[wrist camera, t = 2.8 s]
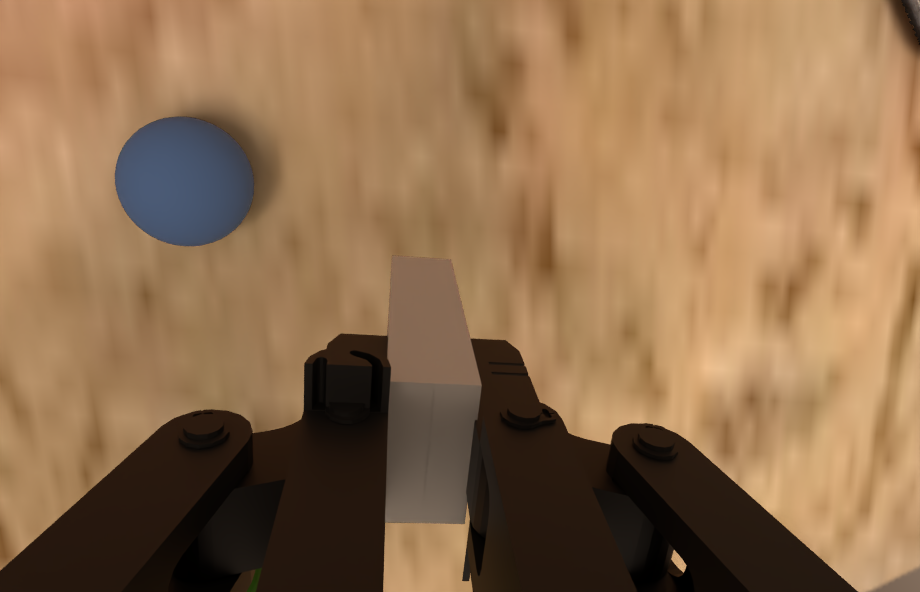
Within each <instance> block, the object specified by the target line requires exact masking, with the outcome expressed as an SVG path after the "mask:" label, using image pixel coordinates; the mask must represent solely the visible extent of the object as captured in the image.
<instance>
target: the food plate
mask: <svg viewBox="0 0 920 592" xmlns="http://www.w3.org/2000/svg"><path fill="white" fill-rule="evenodd" d="M901 1H902V3H903V4H902V5H903V6H904V7H905V10H906V11H905V12H907V13H908V15H907V16H908V18H910V20H911V21H909V23H910V24H911V25H913V26H914V28H913V30H914V31H915V32H916V33H915V36H916V37H918V39H917V40H919V41H918V42H920V0H901ZM919 45H920V43H919Z"/></svg>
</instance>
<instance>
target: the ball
mask: <svg viewBox="0 0 920 592" xmlns="http://www.w3.org/2000/svg"><path fill="white" fill-rule="evenodd" d="M115 185H116V191H117V194H118V197H119V200H120V202H121V204H122V206H123V208H124V210H125V212H126V213H127V214H128V216H129V217H130V218H131V220H132V221H133V222H134V223H135V224H136V225H137V226H138V227H139V228H141V229H142V230H143V231H144V232H146V233H147V234H149V235H150V236H152V237H154V238H156V239H158V240H160V241H163V242H166V243H169V244H173V245H180V246H200V245H205V244H209V243H213V242H215V241H218V240H220V239H222V238H223V237H225V236H227V235H228V234H230V233H231V232H232V231H234V230H235V229H236V228H237V227H238V226H239V225H240V224H241V222H242V221H243V219H244V218H245V216H246V215H247V213H248V211H249V209H250V206H251V203H252V200H253V194H254V178H253V172H252V168H251V165H250V163H249V160H248V158H247V156H246V154H245V153H244V151H243V150H242V148H241V147H240V145H239V144H238V143H237V142H236V141H235V140H234V139H233V138H232V137H231V136H230V135H229V134H228V133H226V132H225V131H223V130H222V129H221V128H219V127H217V126H215V125H213V124H211V123H208V122H206V121H203V120H200V119H196V118H191V117H169V118H163V119H159V120H156V121H154V122H151V123H149V124H147V125H145V126H144V127H142V128H140V129H139V130H138V131H137V132H135V133H134V134H133V135H132V136H131V137H130V139H129V140H128V141H127V142H126V143H125V145H124V147H123V148H122V150H121V152H120V154H119V157H118V160H117V164H116V170H115Z"/></svg>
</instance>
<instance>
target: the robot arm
mask: <svg viewBox="0 0 920 592" xmlns="http://www.w3.org/2000/svg"><path fill="white" fill-rule="evenodd" d="M467 502H468V508H469V515H470V524H469V532H468V540H467V548H466V556H465V563H464V571H463V579H462V581H469V578H470V573H471V581H472V588H473V592H858V591H856V590H855V589H854V588H853V587H852V586H851V585H850V584H849V583H847V582H846V581H845V580H844V579H843V578H842V577H841V576H840V575H838V574H837V573H836V572H835V571H834V570H833V569H832V568H831V567H829V566H828V565H827V564H826V563H825V562H824V561H823V560H822V559H820V558H819V557H818V556H817V555H816V554H815V553H814V552H813V551H811V550H810V549H809V548H808V547H807V546H806V545H805V544H804V543H802V542H801V541H800V540H799V539H798V538H797V537H796V536H795V535H793V534H792V533H791V532H790V531H789V530H788V529H787V528H786V527H784V526H783V525H782V524H781V523H780V522H779V521H778V520H777V519H775V518H774V517H773V516H772V515H771V514H770V513H769V512H767V511H766V510H765V509H764V508H763V507H762V506H761V505H760V504H758V503H757V502H756V501H755V500H754V499H753V498H752V497H751V496H749V495H748V494H747V493H746V492H745V491H744V490H743V489H742V488H740V487H739V486H738V485H737V484H736V483H735V482H734V481H733V480H731V479H730V478H729V477H728V476H727V475H726V474H725V473H724V472H722V471H721V470H720V469H719V468H718V467H717V466H716V465H715V464H713V463H712V462H711V461H710V460H709V459H708V458H707V457H706V456H704V455H703V454H702V453H701V452H700V451H699V450H698V449H697V448H695V447H694V446H693V445H692V444H691V443H690V442H689V441H687V440H686V439H684V438H683V437H681V436H680V435H678V434H677V433H674V432H672V431H670V430H667V429H665V428H664V427H661V426H658V425H653V424H647V423H644V424H632V423H631V424H627V425H624V426H620V427H619V428H618V429H616V430H615V431H614V432H613V435H612V440H611V445H609V444H605V443H601V442H596V441H592V440H587V439H584V438H580V437H577V436H574V435H571V434H569V433H568V431H567V429H566V427H565V425H564V422H563V420H562V418H561V417H560V416H559V415H558V413H557V412H556V411H555V410H553V409H552V408H550V407H548V406H547V405H545V404H543V403H540V402H539V399H538V397H537V394H536V392H535V389H534V387H533V384H532V382H531V379H530V377H529V376H528V372H527V369H526V367H525V366H524V362H523V359H522V357H521V354H520V352H519V351H518V350H517V349H516V348H515V347H513V346H512V345H511V344H510V343H508V342H507V341H506V340H487V339H470V335H469V331H468V327H467V323H466V319H465V315H464V311H463V306H462V302H461V298H460V294H459V290H458V286H457V282H456V278H455V274H454V269H453V265H452V261H451V259H439V258H424V257H409V256H394V255H392V266H391V282H390V298H389V314H388V330H387V336H377V335H357V334H340V335H338V336H337V337H336V338H334V339H333V340H332V341H331V342H329V343H328V345H327V349H325V350H321V351H319V352H317V353H315V354H313V355H311V356H310V357H309V358H308V359H307V361H306V362H305V363H304V412H303V416H302V419H301V420H299V421H298V422H296V423H294V424H292V425H289V426H286V427H284V428H280V429H276V430H271V431H265V432H259V433H252V428H251V425H250V422H249V421H248V420H246V419H245V418H244V417H243V416H241V415H239V414H236V413H232V412H229V411H222V410H204V411H201V410H200V411H194V412H191V413H188V414H185V415H182V416H179V417H176V418H174V419H172V420H171V421H169V422H168V423H166V424H165V425H163V426H161V427H160V428H159V429H158V430H157V431H156V432H155V433H154V434H153V435H151V436H150V437H149V438H148V439H147V440H146V441H145V442H144V443H143V444H141V445H140V446H139V447H138V448H137V449H136V450H135V451H134V452H132V453H131V454H130V455H129V456H128V457H127V458H126V459H125V460H124V461H122V462H121V463H120V464H119V465H118V466H117V467H116V468H115V469H113V470H112V471H111V472H110V473H109V474H108V475H107V476H106V477H105V478H103V479H102V480H101V481H100V482H99V483H98V484H97V485H96V486H94V487H93V488H92V489H91V490H90V491H89V492H88V493H87V494H86V495H84V496H83V497H82V498H81V499H80V500H79V501H78V502H77V503H76V504H74V505H73V506H72V507H71V508H70V509H69V510H68V511H67V512H65V513H64V514H63V515H62V516H61V517H60V518H59V519H58V520H57V521H55V522H54V523H53V524H52V525H51V526H50V527H49V528H48V529H46V530H45V531H44V532H43V533H42V534H41V535H40V536H39V537H38V538H36V539H35V540H34V541H33V542H32V543H31V544H30V545H29V546H27V547H26V548H25V549H24V550H23V551H22V552H21V553H20V554H19V555H17V556H16V557H15V558H14V559H13V560H12V561H11V562H10V563H9V564H7V565H6V566H5V567H4V568H3V569H2V570H1V571H0V592H246V591H247V590H248V588H249V586H250V585H251V583H252V580H253V577H254V574H255V569H259V568H262V570H261V574H260V578H259V581H258V585H257V589H256V592H383V574H384V540H385V522H388V523H445V524H465V517H466V509H467ZM673 550H675V551H676V552H677V553H678V554H679V555H680V557H681V558H682V559H683V561H684V562H685V564H686V565H687V566H686V570H685V571H684V573H683V572H682V571H681V570H680V569H679V568H678V567H677V566H676V565H675V564H674V563H673V561H672V560H671V558H672V554H673Z"/></svg>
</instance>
